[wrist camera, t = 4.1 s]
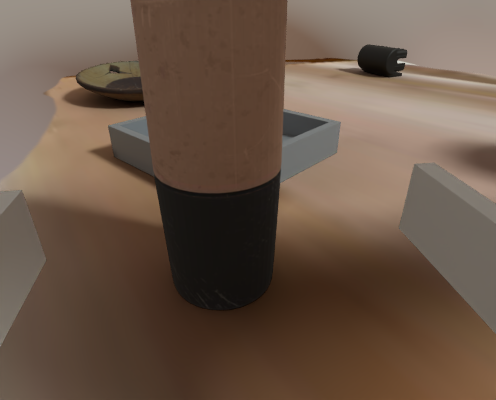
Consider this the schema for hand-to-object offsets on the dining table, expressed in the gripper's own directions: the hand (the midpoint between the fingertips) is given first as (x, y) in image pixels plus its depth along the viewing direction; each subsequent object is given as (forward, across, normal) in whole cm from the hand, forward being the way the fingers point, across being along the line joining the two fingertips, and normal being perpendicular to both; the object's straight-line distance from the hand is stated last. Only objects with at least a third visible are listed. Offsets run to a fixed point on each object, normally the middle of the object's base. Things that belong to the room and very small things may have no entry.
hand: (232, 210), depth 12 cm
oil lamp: (+63, -11, -11) cm, 65 cm away
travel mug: (+9, 0, -11) cm, 15 cm away
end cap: (+80, +47, -11) cm, 94 cm away
